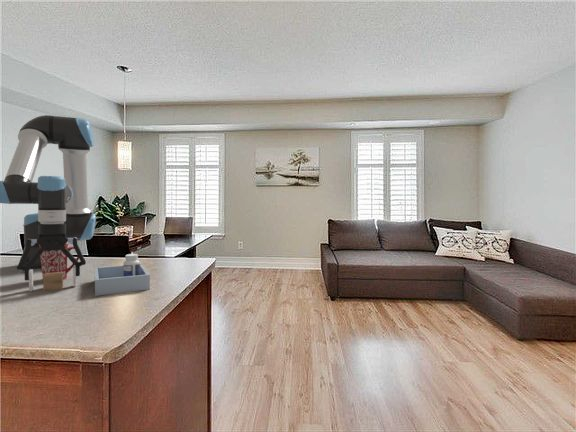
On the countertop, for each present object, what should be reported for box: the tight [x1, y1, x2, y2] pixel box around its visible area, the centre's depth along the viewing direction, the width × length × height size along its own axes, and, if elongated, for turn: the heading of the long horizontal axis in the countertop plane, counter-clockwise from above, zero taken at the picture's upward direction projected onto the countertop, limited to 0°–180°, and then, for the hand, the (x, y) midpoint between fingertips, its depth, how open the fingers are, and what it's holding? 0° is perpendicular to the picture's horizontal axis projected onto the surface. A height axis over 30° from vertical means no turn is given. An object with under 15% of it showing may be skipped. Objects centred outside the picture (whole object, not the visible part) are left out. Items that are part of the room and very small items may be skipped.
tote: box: [94, 263, 151, 296], centre depth 118 cm, size 20×16×5 cm
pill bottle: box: [122, 253, 141, 277], centre depth 119 cm, size 5×5×10 cm
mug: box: [39, 241, 80, 281], centre depth 124 cm, size 13×9×14 cm
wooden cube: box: [42, 272, 64, 292], centre depth 112 cm, size 5×5×5 cm
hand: (53, 287), depth 112 cm, fingers open, 11 cm apart
